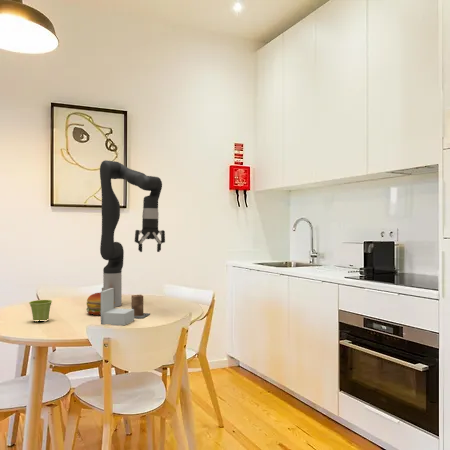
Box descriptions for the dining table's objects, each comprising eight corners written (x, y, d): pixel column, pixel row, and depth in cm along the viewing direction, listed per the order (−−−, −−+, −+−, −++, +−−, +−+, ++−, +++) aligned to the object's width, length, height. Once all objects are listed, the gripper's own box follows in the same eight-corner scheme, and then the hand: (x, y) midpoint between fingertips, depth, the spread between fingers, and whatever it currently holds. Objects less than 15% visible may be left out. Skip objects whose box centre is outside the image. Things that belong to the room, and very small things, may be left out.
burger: (84, 312, 218) (84, 291, 218) (112, 309, 223) (112, 289, 223) (87, 317, 206) (87, 295, 205) (117, 315, 211) (117, 293, 211)
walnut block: (133, 316, 205) (133, 296, 205) (131, 314, 209) (131, 295, 209) (143, 315, 207) (143, 295, 207) (140, 313, 211) (140, 294, 211)
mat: (124, 317, 205) (124, 316, 205) (131, 313, 213) (132, 312, 213) (142, 318, 203) (142, 317, 203) (149, 314, 212) (149, 313, 212)
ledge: (100, 324, 192) (100, 291, 192) (111, 319, 202) (111, 288, 201) (124, 325, 190) (124, 292, 189) (134, 320, 199) (134, 288, 199)
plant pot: (38, 324, 191) (38, 304, 191) (24, 322, 196) (24, 302, 196) (56, 320, 199) (56, 301, 199) (43, 318, 204) (43, 299, 204)
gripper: (137, 217, 208) (136, 252, 208) (167, 218, 214) (166, 252, 214) (133, 217, 215) (133, 251, 215) (162, 218, 220) (161, 251, 221)
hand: (149, 251), depth 214 cm, fingers open, 8 cm apart
